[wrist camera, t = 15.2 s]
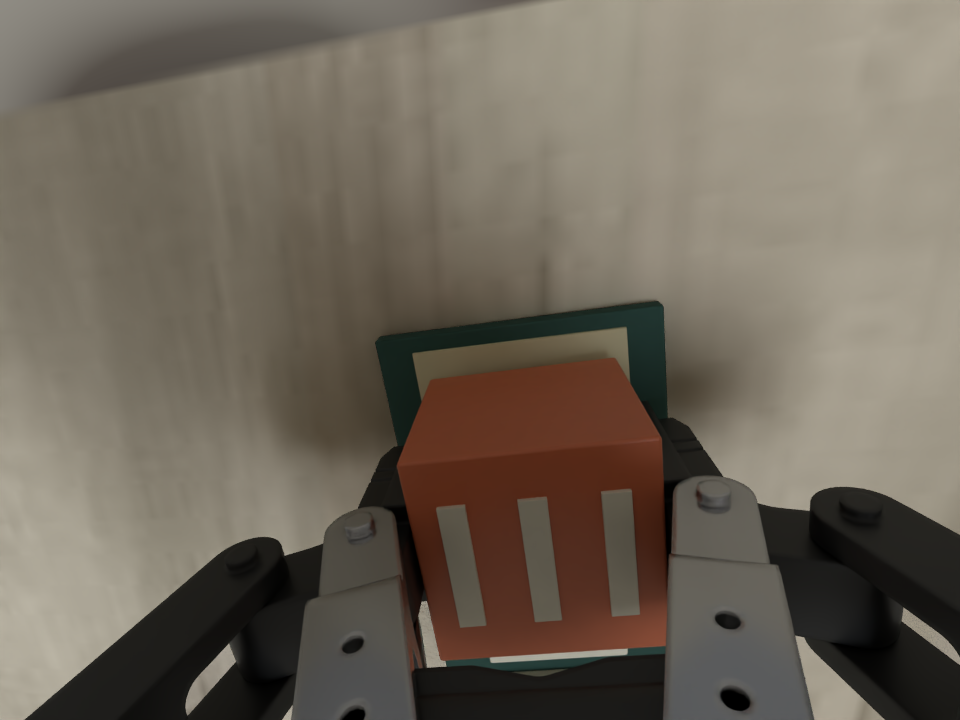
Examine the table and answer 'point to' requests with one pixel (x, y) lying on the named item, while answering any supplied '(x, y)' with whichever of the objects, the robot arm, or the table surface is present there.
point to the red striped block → (538, 512)
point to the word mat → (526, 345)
